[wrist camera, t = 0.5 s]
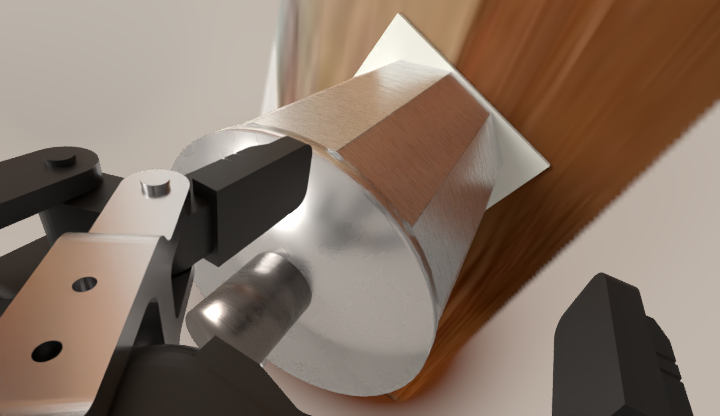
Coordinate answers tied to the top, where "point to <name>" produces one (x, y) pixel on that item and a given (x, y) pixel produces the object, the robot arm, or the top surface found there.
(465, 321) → the top surface
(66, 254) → the robot arm
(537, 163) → the mat
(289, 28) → the top surface
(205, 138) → the cover
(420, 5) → the top surface
